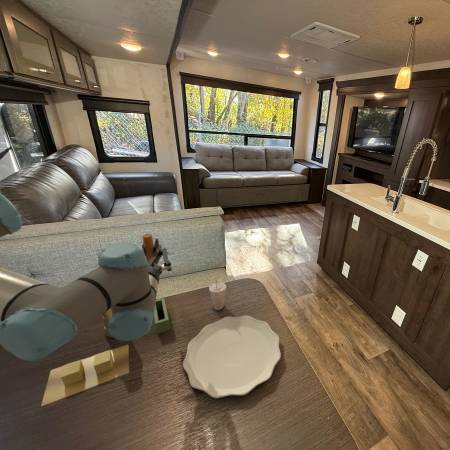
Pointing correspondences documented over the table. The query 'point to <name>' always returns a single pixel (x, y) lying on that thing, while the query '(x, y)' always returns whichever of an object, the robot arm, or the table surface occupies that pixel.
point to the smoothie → (218, 294)
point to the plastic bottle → (107, 322)
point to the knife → (148, 246)
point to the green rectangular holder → (164, 324)
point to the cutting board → (86, 376)
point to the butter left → (72, 372)
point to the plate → (232, 356)
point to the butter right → (103, 362)
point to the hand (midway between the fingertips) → (151, 243)
